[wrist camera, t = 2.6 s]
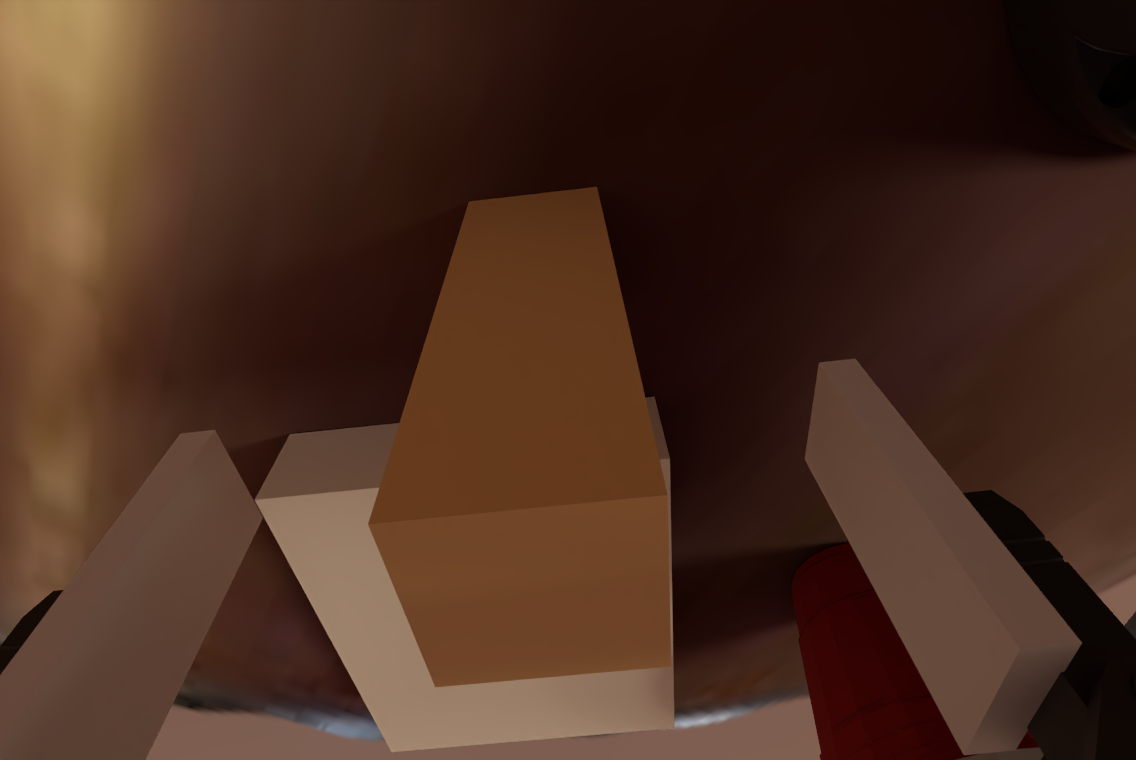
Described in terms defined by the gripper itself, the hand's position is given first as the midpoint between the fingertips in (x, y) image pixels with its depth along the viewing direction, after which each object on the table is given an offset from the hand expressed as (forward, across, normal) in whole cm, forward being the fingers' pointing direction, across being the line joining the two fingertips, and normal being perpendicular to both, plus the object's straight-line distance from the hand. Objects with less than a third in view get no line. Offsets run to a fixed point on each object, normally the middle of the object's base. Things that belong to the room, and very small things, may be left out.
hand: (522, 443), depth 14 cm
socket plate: (+11, +4, +17) cm, 21 cm away
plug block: (+11, 0, 0) cm, 11 cm away
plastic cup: (+11, -15, +21) cm, 28 cm away
